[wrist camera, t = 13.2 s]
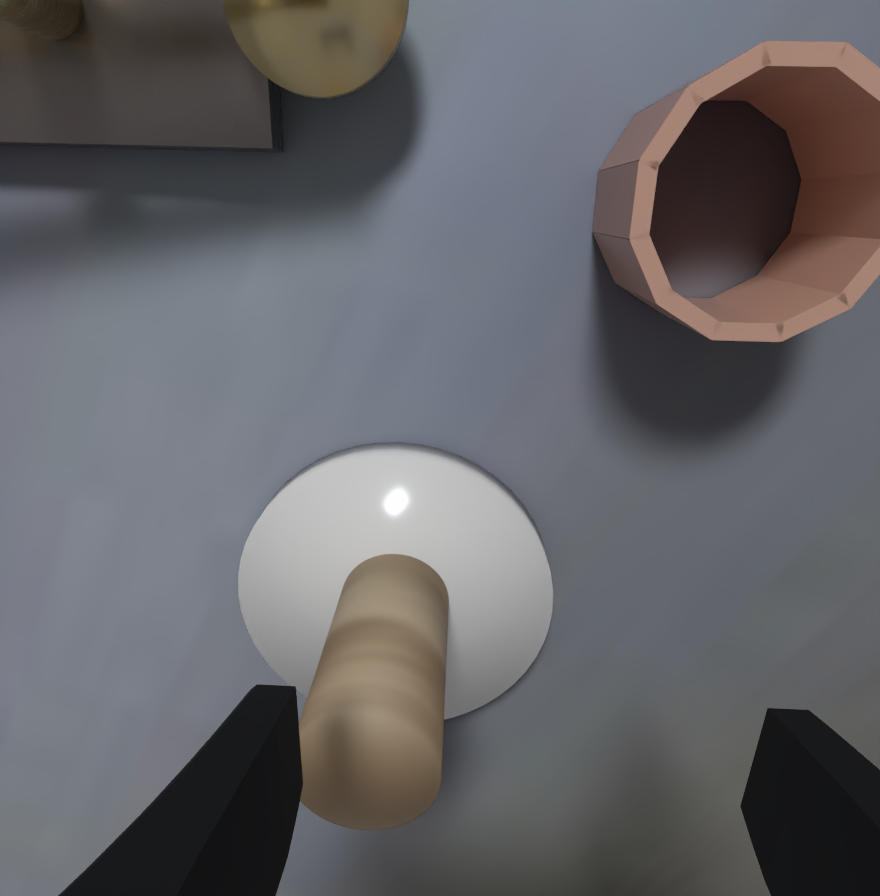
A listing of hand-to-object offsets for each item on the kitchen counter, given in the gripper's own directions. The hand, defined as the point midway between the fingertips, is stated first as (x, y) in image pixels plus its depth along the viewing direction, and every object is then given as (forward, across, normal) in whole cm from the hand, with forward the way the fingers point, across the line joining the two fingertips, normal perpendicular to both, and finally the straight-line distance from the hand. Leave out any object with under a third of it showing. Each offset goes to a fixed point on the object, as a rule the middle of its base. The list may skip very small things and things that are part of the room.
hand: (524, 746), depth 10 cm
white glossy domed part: (+10, +3, +4) cm, 12 cm away
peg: (+9, +3, +4) cm, 10 cm away
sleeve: (+10, -5, -8) cm, 14 cm away
